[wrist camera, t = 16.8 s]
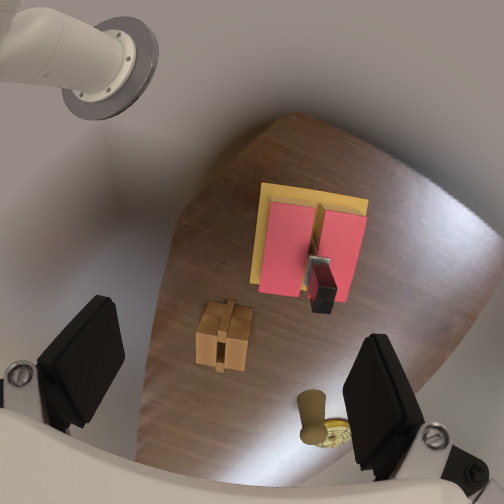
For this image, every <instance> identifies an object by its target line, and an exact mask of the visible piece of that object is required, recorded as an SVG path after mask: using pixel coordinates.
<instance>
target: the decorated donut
mask: <svg viewBox="0 0 504 504" xmlns="http://www.w3.org/2000/svg"><path fill="white" fill-rule="evenodd" d="M324 425H325V426H326V428H327V430H328V435H327V438H326V439H325V441H323V442H322V443H319V444H316V445H315V446H317V447H321V448H333V447H338V446H341V445H342V444H344V443H346V442H347V441H349V440H350V439H351V432H350V427H349V423H348V422H345V421H342V420H329V421H326V422H324Z"/></svg>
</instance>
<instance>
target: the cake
mask: <svg viewBox="0 0 504 504" xmlns="http://www.w3.org/2000/svg"><path fill="white" fill-rule="evenodd" d="M368 201H369V200H367V199H362V198H357V197H352V196H347V195H341V194H335V193H330V192H324V191H318V190H312V189H305V188H299V187H292V186H285V185H278V184H270V183H263V182H262V184H261V193H260V201H259V209H258V218H257V226H256V234H255V242H254V251H253V259H252V267H251V276H250V283H252V284H259V292H263V293H270V294H278V295H285V296H293V297H299V294H300V290H306V291H307V297H308V298H310V296H309V291H308V286H304V284H303V282H304V278H305V273H306V268H307V263H308V260H307V255H308V249H309V244H310V239H311V234H312V236H313V239H314V242H315V245H316V247H317V250H318V253H319V256H325V257H330V258H331V261H330V266H329V267H330V270H331V272H332V275H333V277H334V280H335V282H336V285H337V288H338V290H337V293H336V297H335V301H337V302H346V299H347V296H348V292H349V289H350V285H351V282H352V278H353V274H354V271H355V267H356V263H357V259H358V255H359V251H360V247H361V243H362V239H363V235H364V230H365V226H366V221H367V217H366V211H367V206H368Z"/></svg>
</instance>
